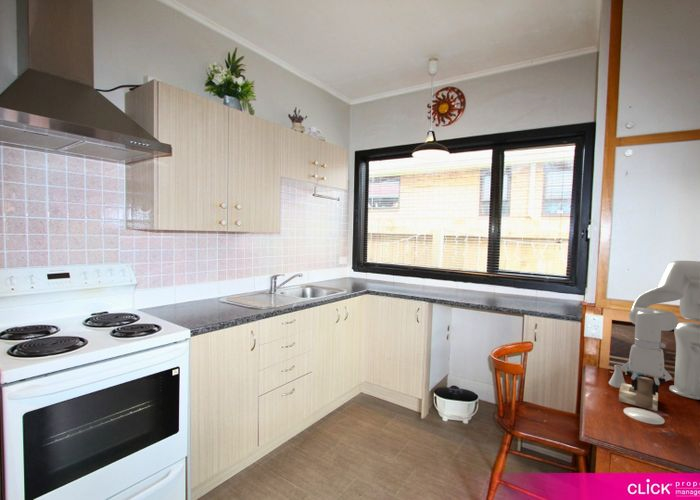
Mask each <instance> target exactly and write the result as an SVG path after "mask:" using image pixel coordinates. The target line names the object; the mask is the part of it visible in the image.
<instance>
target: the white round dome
mask: <svg viewBox="0 0 700 500" xmlns="http://www.w3.org/2000/svg"><path fill="white" fill-rule="evenodd" d="M623 413H624V415H626V416H628V417H629V418H631V419H633V420H636V421H638V422H642V423H646V424H651V425H663V424H664V423H665V422H666V421H665V419H664V417H662V416H660V415H659V414H658V413H655V412H652V411H651V410H648V409H647V410H646V409H645V408H644V409H643V408H638V407H625V408H623Z"/></svg>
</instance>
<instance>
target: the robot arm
mask: <svg viewBox="0 0 700 500" xmlns="http://www.w3.org/2000/svg"><path fill="white" fill-rule="evenodd" d="M678 300H679V314H680V316H681V317H682V318H683V319H685V320H688V321H694V322H688V321H685V322H682V321H681V322H679V318H678V316H677V315H676V314H675V313H674V312H672V311H669V310H663V309H658V308H657V309H656V308H650V307H651V306H653V305H656V304H661V303H662V304H663V303H669V302H675V301H678ZM628 317H629V322H631V323H632V324H633V325H634V343H633V344H632V345H631V347H630V349H629V350H630V351H629V359H628V361H627V362H626V363H624V364H623V365H621V366H622V367H621V369H622V371H624V372H625V374H626V373H627V376H629V377H630V378H631V385H632V387H634V390H635V391H636V386H637V378H636V376H637V374H638V373H639V375H640V374H644V376H646V375H649V376H650V377H653V380H654V386H653V395H656V393H658V394H659V387H660V385H661V384H663V383H665V382H667V381H671V380H672V379H673V376H672V375H671V374H670V373H669V372H668V370H666V368H665V355H664V350H663V348H664V349H665V348H666V345H667V344H666V343H663V342H661V340H662V331H666V332H669V331H672V330H674V332H673V333H674V340H675V364H674V366H675V367H674V381H673V382H674V383H673V384H674V385H673V384H672V385H669V386H668V387H669V388H668V389H669V391H671V392H672V393H674V394H676V395H678V396H681V397H684V398H688V399H692V400H700V324H699V323H695V322H700V261H697V260H674V261H671V262H670V263H669V264H668V265H667V266H666V268H665V270H664V272H662V275H661V278H660V279H659V282H658V284H657V286H656V287H655V288H654V287H653V288H652V289H649V290H646V291H645V292H643V293H641V294H640V295H639V296H638V297H636V299H635V300H634V302H633V304H632V306H631V308H630V311H629V315H628ZM627 367H629V370H628V369H627ZM631 371H632V372H631ZM649 376H648V377H649Z"/></svg>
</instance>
